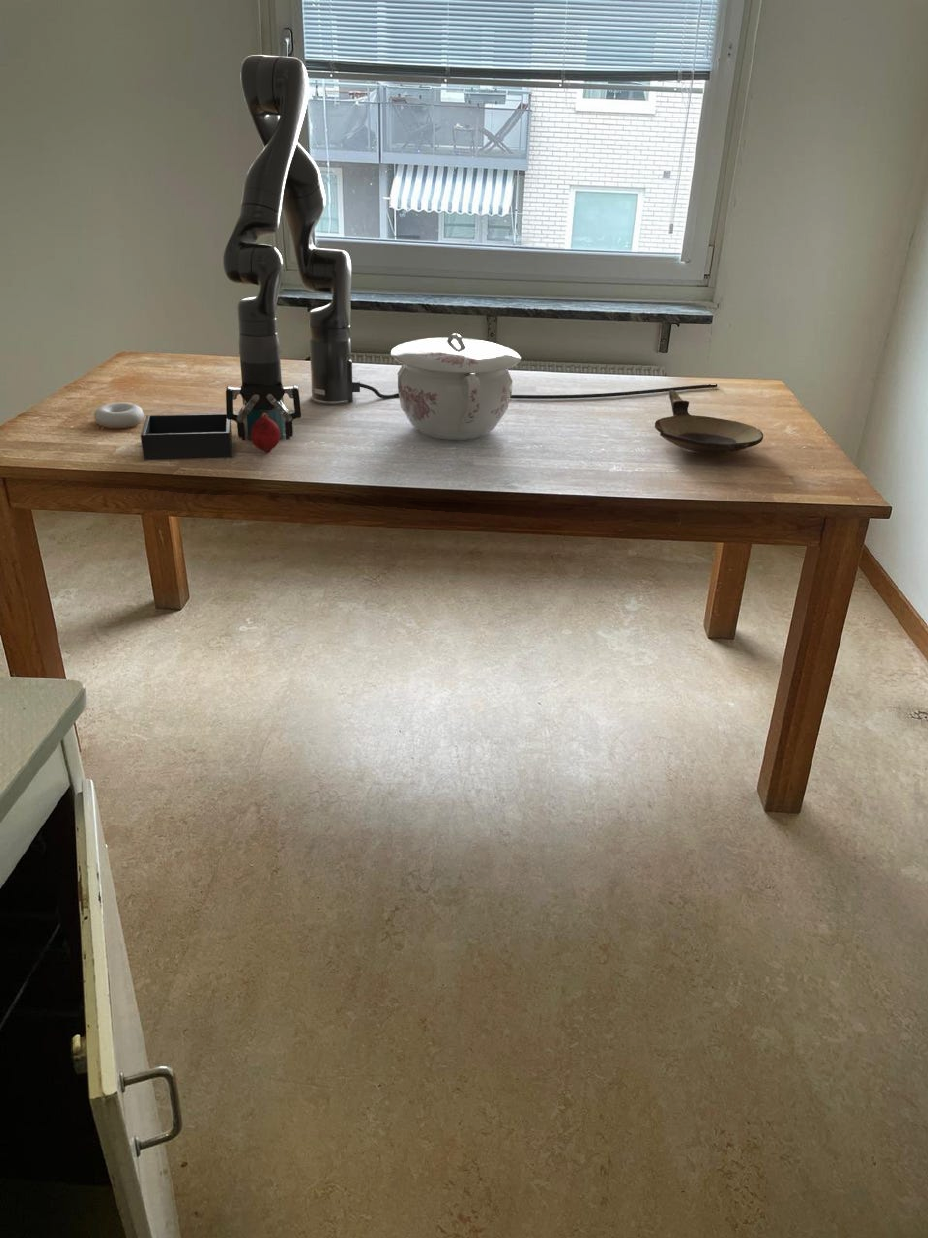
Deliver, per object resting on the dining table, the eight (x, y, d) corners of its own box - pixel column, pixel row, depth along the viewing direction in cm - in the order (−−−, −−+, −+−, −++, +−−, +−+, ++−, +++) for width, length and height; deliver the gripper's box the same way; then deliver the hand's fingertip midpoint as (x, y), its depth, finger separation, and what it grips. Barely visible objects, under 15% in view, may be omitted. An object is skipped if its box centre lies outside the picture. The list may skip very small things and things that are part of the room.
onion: (278, 458, 176) (275, 418, 172) (249, 456, 176) (245, 417, 172) (283, 448, 181) (281, 409, 177) (255, 446, 181) (252, 408, 177)
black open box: (232, 436, 186) (230, 413, 183) (231, 457, 175) (229, 432, 173) (149, 438, 182) (146, 414, 180) (144, 460, 172) (140, 435, 169)
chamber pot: (427, 404, 211) (429, 313, 201) (534, 425, 201) (542, 331, 191) (364, 436, 189) (363, 337, 179) (481, 462, 179) (488, 357, 169)
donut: (125, 433, 185) (154, 419, 193) (122, 417, 183) (152, 403, 191) (85, 426, 187) (115, 412, 195) (82, 410, 186) (113, 397, 194)
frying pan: (657, 465, 182) (663, 428, 178) (646, 420, 208) (651, 387, 204) (768, 473, 181) (777, 437, 177) (743, 427, 206) (750, 394, 202)
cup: (284, 429, 191) (282, 385, 186) (286, 442, 184) (283, 396, 180) (245, 430, 190) (241, 385, 185) (245, 443, 183) (241, 397, 178)
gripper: (220, 362, 164) (228, 446, 173) (299, 361, 167) (303, 444, 175) (221, 351, 171) (229, 433, 179) (297, 351, 174) (301, 431, 182)
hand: (265, 438), depth 177 cm, fingers open, 8 cm apart
